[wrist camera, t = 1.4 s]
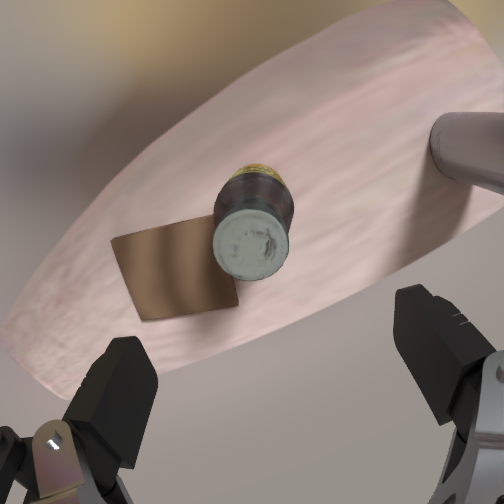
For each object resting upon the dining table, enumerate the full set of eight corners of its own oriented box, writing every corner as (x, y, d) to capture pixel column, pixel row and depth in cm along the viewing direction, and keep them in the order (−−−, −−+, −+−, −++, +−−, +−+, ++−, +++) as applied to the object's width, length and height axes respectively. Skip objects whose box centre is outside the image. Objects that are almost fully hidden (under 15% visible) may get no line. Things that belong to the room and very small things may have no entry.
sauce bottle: (293, 183, 34) (345, 241, 15) (261, 225, 35) (272, 323, 17) (247, 150, 32) (242, 163, 14) (215, 193, 34) (174, 262, 16)
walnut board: (216, 213, 35) (215, 216, 34) (238, 301, 39) (238, 305, 38) (114, 237, 36) (110, 240, 35) (143, 315, 40) (141, 320, 39)
